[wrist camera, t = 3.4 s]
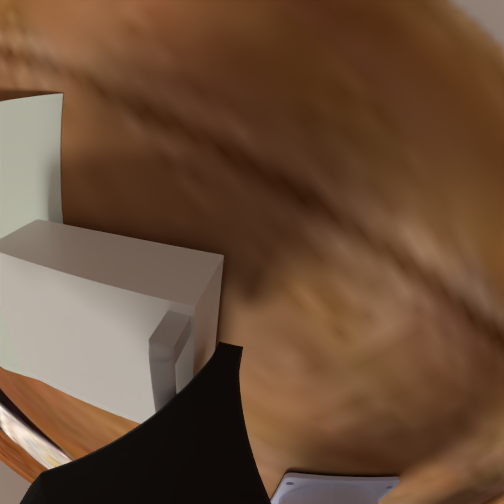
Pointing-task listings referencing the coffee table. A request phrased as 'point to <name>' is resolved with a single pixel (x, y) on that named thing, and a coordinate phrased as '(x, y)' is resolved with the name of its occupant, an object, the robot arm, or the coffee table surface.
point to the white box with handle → (109, 314)
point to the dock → (28, 178)
